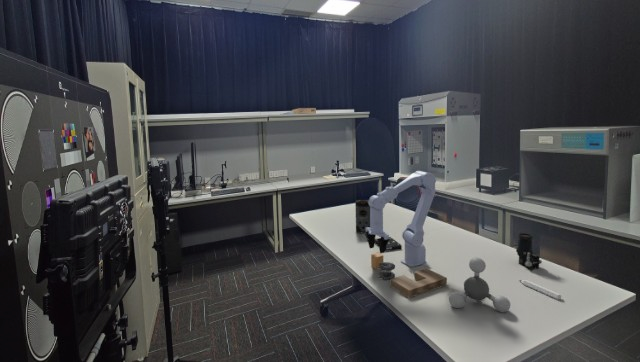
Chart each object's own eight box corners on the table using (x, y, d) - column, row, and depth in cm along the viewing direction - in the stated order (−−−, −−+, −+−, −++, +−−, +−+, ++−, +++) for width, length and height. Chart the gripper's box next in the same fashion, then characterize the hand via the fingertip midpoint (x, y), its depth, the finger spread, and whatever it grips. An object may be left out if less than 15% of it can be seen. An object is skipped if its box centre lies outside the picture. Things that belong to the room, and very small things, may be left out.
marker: (518, 283, 135) (559, 301, 120) (515, 282, 134) (556, 299, 119) (521, 278, 135) (562, 294, 120) (518, 276, 134) (559, 293, 119)
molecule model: (482, 308, 128) (453, 261, 134) (521, 297, 118) (488, 247, 124) (463, 332, 114) (432, 279, 120) (505, 322, 104) (469, 264, 109)
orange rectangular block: (378, 264, 156) (378, 252, 155) (383, 267, 153) (383, 255, 152) (371, 266, 154) (371, 254, 153) (376, 269, 151) (376, 257, 150)
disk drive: (402, 250, 175) (390, 240, 189) (402, 245, 174) (390, 236, 189) (384, 252, 173) (373, 242, 187) (384, 247, 172) (373, 238, 186)
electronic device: (355, 233, 204) (355, 201, 201) (356, 230, 210) (355, 199, 207) (371, 233, 202) (370, 201, 199) (371, 230, 208) (370, 199, 205)
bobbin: (388, 271, 148) (387, 261, 147) (398, 277, 142) (398, 266, 141) (375, 275, 145) (375, 264, 144) (385, 281, 139) (385, 270, 138)
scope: (529, 240, 142) (510, 233, 151) (527, 270, 144) (509, 262, 153) (544, 238, 144) (525, 231, 153) (542, 267, 146) (523, 259, 155)
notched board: (426, 274, 143) (426, 268, 143) (446, 284, 134) (446, 277, 133) (390, 286, 134) (390, 279, 134) (409, 297, 125) (409, 290, 124)
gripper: (360, 219, 154) (360, 247, 156) (379, 227, 141) (380, 257, 143) (372, 217, 157) (372, 244, 159) (392, 224, 145) (392, 253, 147)
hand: (376, 250), depth 151 cm, fingers open, 7 cm apart
